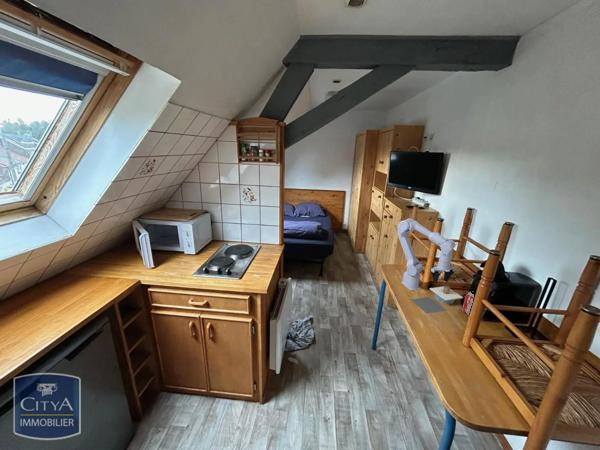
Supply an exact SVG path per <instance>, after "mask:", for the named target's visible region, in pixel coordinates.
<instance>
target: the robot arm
mask: <svg viewBox="0 0 600 450" xmlns="http://www.w3.org/2000/svg"><path fill="white" fill-rule="evenodd" d="M410 231H417V232H419V233H420V234H422V235H424V236H425V237H427V238H428V240H429V241H430V242H432V243H433V244H435V245H436V246H438V247H439V248H440V254H439V259H438V263H437V265H436V266H434V267H431V269H430V273H431V275H432V282H433V283H434V284H437V283H438V281H439V278H440V276H441V273H440V272H444V274H443V275H444V276H443V281H444V282H446V283H448V281H449V280H450V278H451V277H452V276H453V275H454V274H455V271H454V270H455V268H456V267H455V266H453V265H451V261H452V258H453V252H454V249H455V248H456V242H455V241H454V240H453V239H451V238H448V237H445V236H443V235H441V234H440V232H436V231H434V232H432V231H431V230H429V229H427V228H426V227H425V226H424V225H422V224H421V223H419V221H417V220H415V219H413V218H409V217H408V218H407V219H404V220H401V221H399V222H398V224H397V237H398V240H399V242H400V245H401V248H402V251H403V253H404V254H403V255H404V257H405V258H406V271H405V272H404V273H403V276H402V281H401V282H400V283H401V284H402V285H403V286H405V288H407V289H409V291H415V290H421V289H422V288H421V287H420V286H419V284H420V279H421V272H422V271H423V270H424V267H423V265H422V263H421V262H420V260H419V259H418V258H416V255H415V252H414V249H413V247H412V244H411V241H410V239H409V236H408V234H409V233H410Z"/></svg>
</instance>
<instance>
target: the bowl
mask: <svg viewBox="0 0 600 450" xmlns="http://www.w3.org/2000/svg"><path fill="white" fill-rule="evenodd" d="M434 298H435V299H436V300H437V301H438V302H440V303H443V304H446V305H453V304H454V303H455V301H456V299H454V300H447V301H445V300H444V299H442V298H441V297H440V296H438V295H437V294H436V293H434Z"/></svg>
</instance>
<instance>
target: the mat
mask: <svg viewBox="0 0 600 450" xmlns="http://www.w3.org/2000/svg"><path fill="white" fill-rule="evenodd" d="M410 301H411V302H413V303H414V304H415V305H416V306H417V307H418V308H419V309H421V310H422V311H423V312H424V313H425V314H432V313H441V312H445V311H447V309H446V308H444V307H443V306H442V305H441V304H439V303H438V302H436V301H435V299H433V298H432V297H430V296H425V297H418V298H411V299H410Z"/></svg>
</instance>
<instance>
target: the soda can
mask: <svg viewBox="0 0 600 450" xmlns="http://www.w3.org/2000/svg"><path fill="white" fill-rule="evenodd" d="M471 291H472V290H471ZM471 291H468V292H467V294H466V295H465V298H464V301H463V306H462V312H463V314H465V315H467V316H469V313H470V309H471V306H472V303H473V299H474V294H472V293H471ZM469 317H470V316H469Z"/></svg>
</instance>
